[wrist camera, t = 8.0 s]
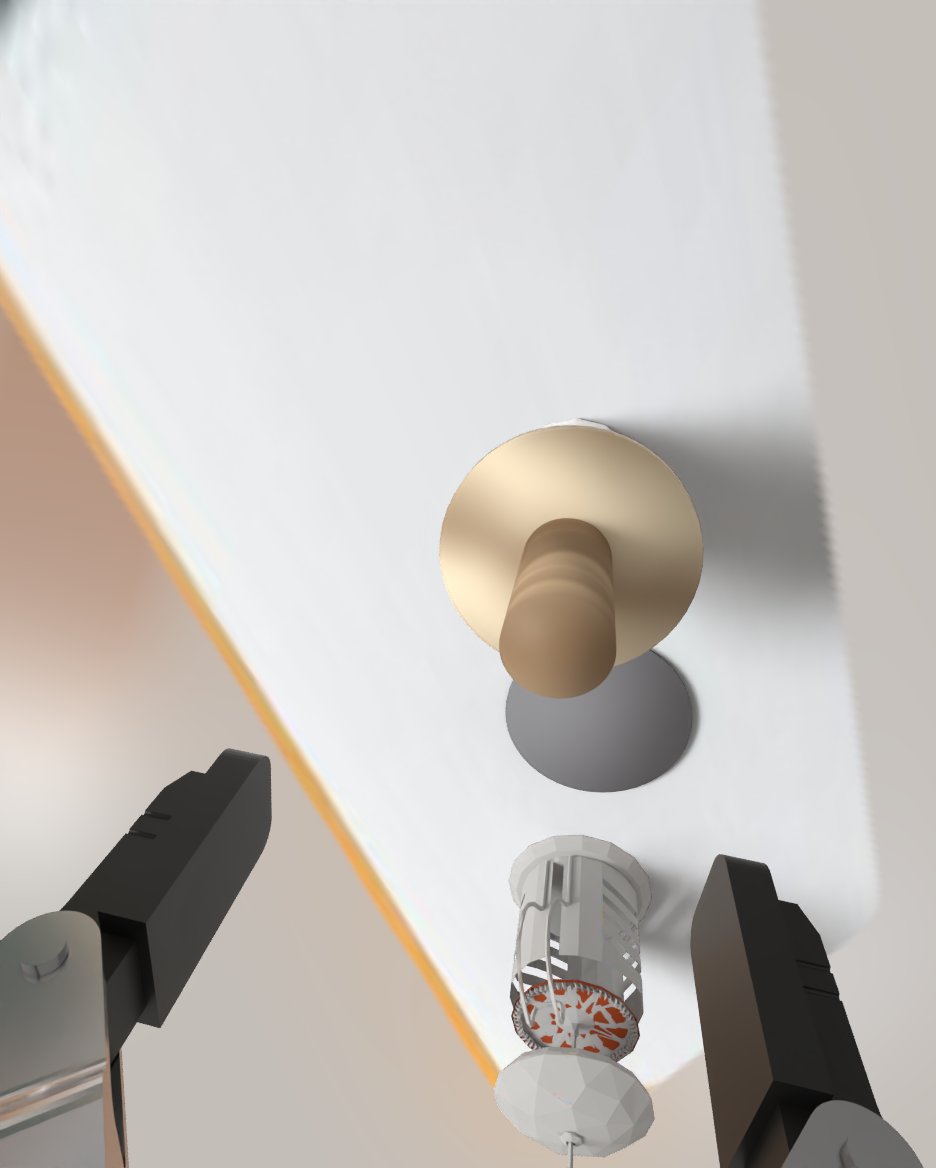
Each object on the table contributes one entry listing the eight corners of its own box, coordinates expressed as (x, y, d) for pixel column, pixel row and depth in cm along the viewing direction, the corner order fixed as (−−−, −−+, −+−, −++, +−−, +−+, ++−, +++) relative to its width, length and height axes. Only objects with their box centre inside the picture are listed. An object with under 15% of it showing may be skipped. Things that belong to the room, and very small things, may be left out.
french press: (538, 948, 50) (490, 1490, 28) (476, 830, 47) (364, 1342, 24) (670, 929, 47) (736, 1519, 25) (616, 800, 44) (635, 1355, 21)
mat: (520, 619, 39) (520, 622, 39) (713, 655, 38) (714, 659, 38) (495, 767, 44) (494, 771, 44) (666, 804, 43) (666, 808, 43)
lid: (456, 406, 25) (402, 455, 18) (731, 446, 24) (786, 514, 17) (433, 639, 29) (382, 751, 22) (666, 682, 28) (689, 814, 21)
